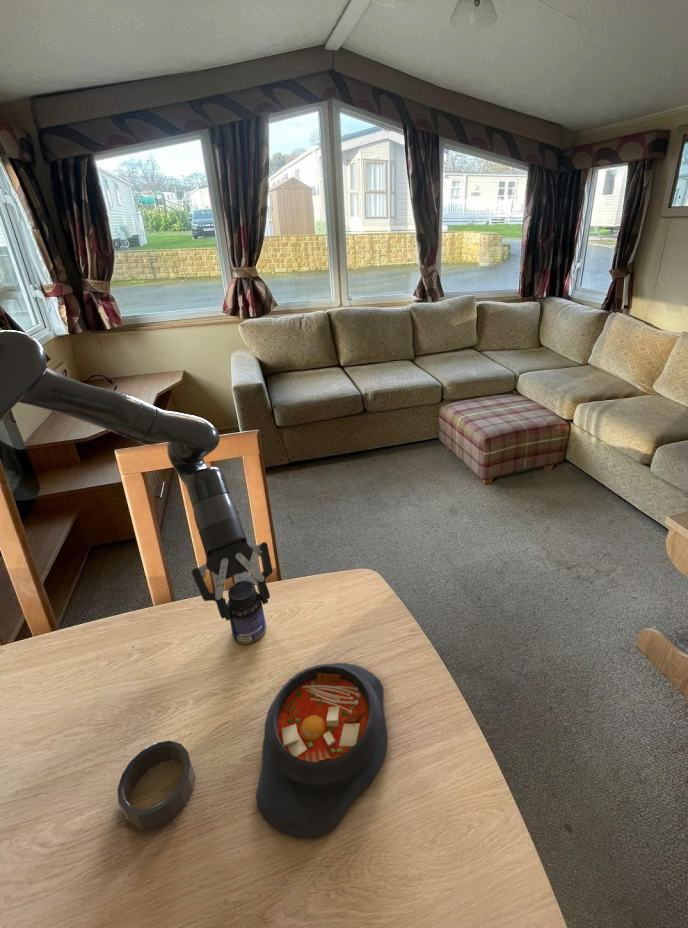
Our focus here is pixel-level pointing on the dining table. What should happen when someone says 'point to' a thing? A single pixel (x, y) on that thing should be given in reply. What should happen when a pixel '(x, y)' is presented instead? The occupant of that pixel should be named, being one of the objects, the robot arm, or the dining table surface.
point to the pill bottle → (246, 613)
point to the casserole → (321, 747)
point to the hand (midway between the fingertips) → (247, 611)
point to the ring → (174, 802)
